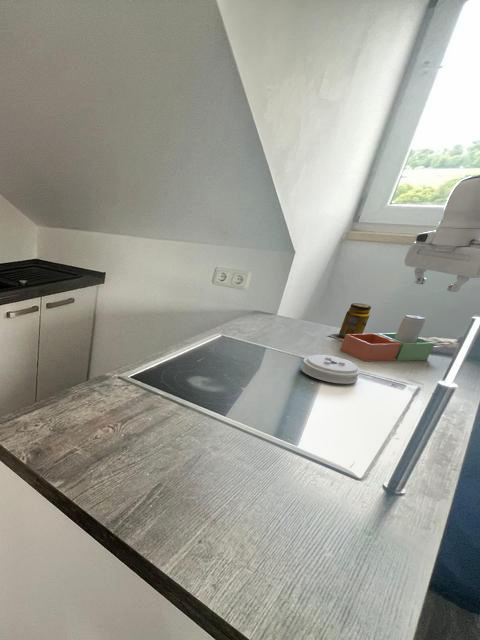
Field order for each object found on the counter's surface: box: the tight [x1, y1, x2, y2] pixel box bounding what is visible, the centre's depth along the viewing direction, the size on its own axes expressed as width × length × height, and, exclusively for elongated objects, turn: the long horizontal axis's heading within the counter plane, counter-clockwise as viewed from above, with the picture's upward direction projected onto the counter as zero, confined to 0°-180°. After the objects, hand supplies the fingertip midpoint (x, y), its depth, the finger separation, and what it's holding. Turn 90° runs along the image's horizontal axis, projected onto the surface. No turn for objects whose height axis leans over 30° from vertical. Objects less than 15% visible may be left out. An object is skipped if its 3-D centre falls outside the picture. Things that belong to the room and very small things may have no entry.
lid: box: [300, 354, 362, 384], centre depth 109 cm, size 13×13×5 cm
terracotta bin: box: [339, 332, 401, 362], centre depth 122 cm, size 9×9×6 cm
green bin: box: [376, 332, 435, 362], centre depth 122 cm, size 9×9×6 cm
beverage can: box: [394, 313, 427, 343], centre depth 120 cm, size 5×5×12 cm
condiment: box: [328, 302, 372, 342], centre depth 134 cm, size 7×8×12 cm
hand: (435, 287), depth 113 cm, fingers open, 8 cm apart
